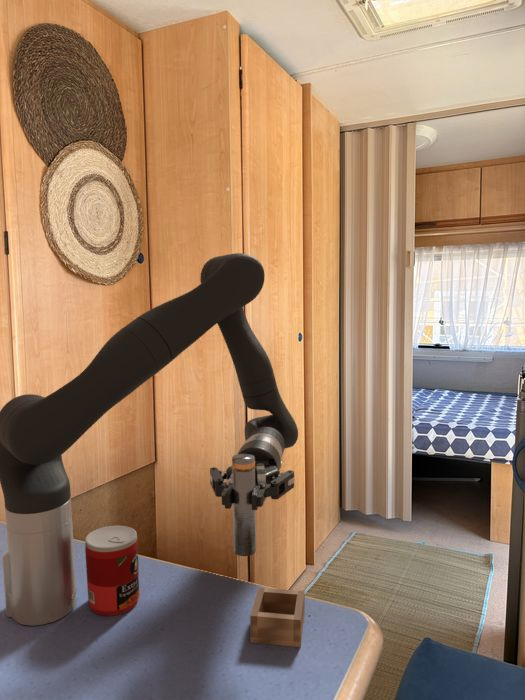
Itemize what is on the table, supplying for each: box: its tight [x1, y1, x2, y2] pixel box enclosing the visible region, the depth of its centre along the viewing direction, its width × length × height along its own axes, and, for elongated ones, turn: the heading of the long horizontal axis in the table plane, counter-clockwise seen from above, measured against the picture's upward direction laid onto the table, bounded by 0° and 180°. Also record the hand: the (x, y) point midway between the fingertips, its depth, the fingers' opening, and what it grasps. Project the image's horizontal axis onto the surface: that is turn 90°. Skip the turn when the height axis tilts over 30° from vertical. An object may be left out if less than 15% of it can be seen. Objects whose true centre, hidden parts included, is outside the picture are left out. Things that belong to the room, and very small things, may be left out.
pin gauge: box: [231, 453, 257, 557], centre depth 76 cm, size 3×3×14 cm
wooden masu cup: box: [249, 587, 306, 648], centre depth 77 cm, size 7×7×4 cm
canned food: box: [84, 525, 140, 617], centre depth 84 cm, size 8×8×11 cm
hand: (240, 502), depth 73 cm, fingers closed on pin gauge, 3 cm apart
